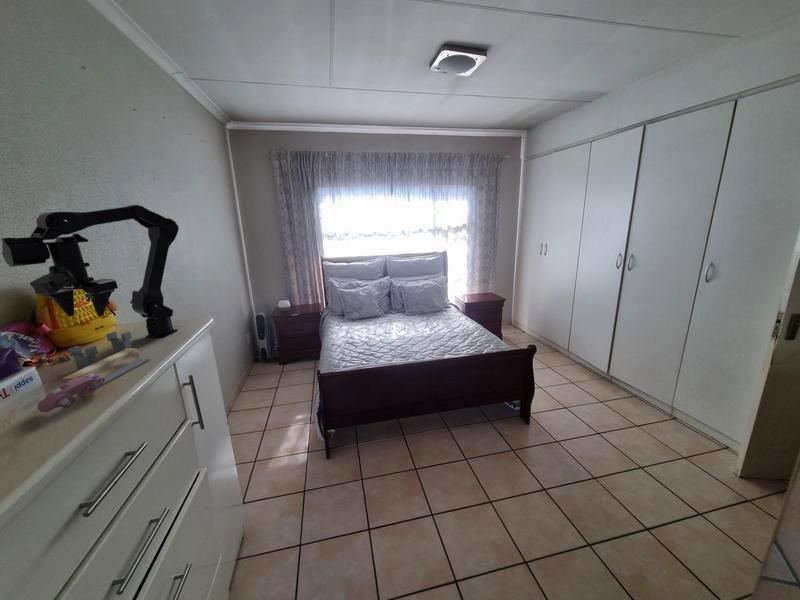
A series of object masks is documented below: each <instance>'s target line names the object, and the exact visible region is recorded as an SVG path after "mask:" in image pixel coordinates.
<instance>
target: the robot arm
mask: <svg viewBox="0 0 800 600" xmlns="http://www.w3.org/2000/svg"><path fill="white" fill-rule="evenodd" d="M128 220H134V221H135V222H137V223H138V225H141V226H142V227H144V228H146V229H147V236H148V239H149V242H150V247H149V251H148V252H149V253H148V256H147V262H146V267H145V272H144V277H143V282H142V286H141V288H140V289H139V290H133V291H132V295H131V300H130V302H129V304H131V309H133V311H134V312H135V313H136V314H139V315H140V316H141V317H142V318H144V319H145V318H146V319H145V323H146V324H145V326H146V330H147V331H146V332H147V333H148V334H147V335H145V338H166V337H167V336H169V335H171V334H173V333H175V332H177V331H178V329H177V328H174V326H173V323H172V322H173V321H172V319H171V317H173V315H174V310H173V309H172V308H170V307H168V306H166V305H164V296H163V292H162V289H161V288H162V284H163V278H164V273H165V269H166V263H167V258H168V253H169V248H170V246H171V245H172V244H173V242H175V240H176V237H177V235H178V234H179V228H180V227H179V225H178V223H177V222H176V221H175V220H173V219H171V218H169V217H168V218H167V217H165V216H163V215H161V214H158V213H156V212H154V211H152V210H149V209H148V208H146V207H144V206H142V205H140V204H129V205H126V206H121V207H113V208H105V209H99V210H93V211H92V210H90V211H78V212H77V211H51V212H49V211H48V212H44V213H40V214H39V215H38V217H36V221H35V223H36V224H37V225H36V227H35V228H34V230H33V232H31V234H30V235H29V236H27V237H2V238H0V239H1V243H2V244H1V250H2V251H1V254H2V257H3V259H4V262H6V264H7V265H8V266H10V267H11V268H13V267H22V266H32V265H41V264H46V262H47V260H49V259H50V258H51V260H52V263H53V265H50V266H49V267H48V271H49V272H48V273H46V274H44V275H42V276H40V277H38V278H35V279H34V280H32V281H31V282H29V285H30V286H31V288H33V290H34V292H35V294H36V295H37V294H38V295H40V296H41V297H43V298H48V299H50V300H53V301H54V302H55V304H57V305H58V306H59V307H60V309H62V311H63V312H64V314H66V315H67V316H68V317H73V316H74V315H75V302H74V301H75V300H74V296H75V295H74V290H82V291H84V292H85V293H86V294H84V296H85V297H87V298H89V299H90V300H91V303H92V305H93V307H94V310H95V312H96V315H97V316H98V317H102V316H104V314H105V313H106V312H105V311H106V307H107V305H108V303H109V300H110V297H111V296H112V293H113V292H115V289H118V288H119V286H118V283H117V281H116V280H115V279H114V278H99V279H96V280H95V279H94V277H93V276H89V274H88V271H87V270H88V269H87V268H88V267H90V266H91V265H90V262H85V261H84V258H83V254H82V250H81V247H80V244H79V243H88V242H89V239H87V238H86V237H84V236H82V235H81V234H79V233H77V232H80V231H83V230H85V229H87V228H90V227H93V226H98V225H103V224H111V223H114V222H121V221H128ZM71 234H72V235H71ZM64 235H70V236H64ZM61 236H62V237H61ZM51 240H55V241H51ZM44 241H47V242H44Z"/></svg>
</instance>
